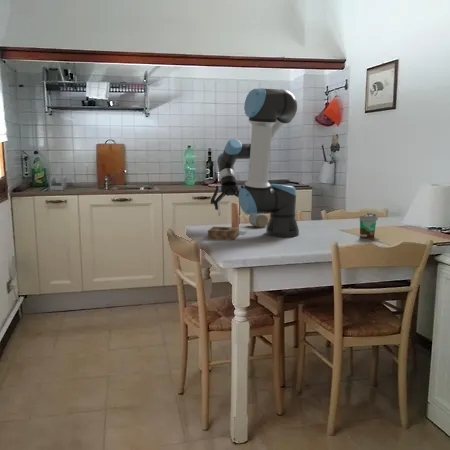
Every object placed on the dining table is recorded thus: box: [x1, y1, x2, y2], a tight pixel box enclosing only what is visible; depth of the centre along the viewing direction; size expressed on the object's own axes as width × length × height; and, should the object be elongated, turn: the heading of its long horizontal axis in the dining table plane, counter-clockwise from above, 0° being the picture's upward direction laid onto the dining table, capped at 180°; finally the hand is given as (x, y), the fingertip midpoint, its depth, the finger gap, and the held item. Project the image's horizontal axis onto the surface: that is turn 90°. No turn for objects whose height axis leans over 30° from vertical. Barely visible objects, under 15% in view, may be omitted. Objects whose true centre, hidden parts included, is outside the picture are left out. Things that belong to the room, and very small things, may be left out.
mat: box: [239, 230, 248, 236], centre depth 223 cm, size 10×8×1 cm
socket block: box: [207, 226, 240, 241], centre depth 213 cm, size 12×10×4 cm
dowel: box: [231, 202, 240, 228], centre depth 222 cm, size 3×3×14 cm
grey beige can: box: [248, 213, 269, 228], centre depth 240 cm, size 11×8×8 cm
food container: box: [359, 212, 378, 239], centre depth 212 cm, size 12×6×10 cm, turn 148°
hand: (233, 214), depth 223 cm, fingers open, 13 cm apart
